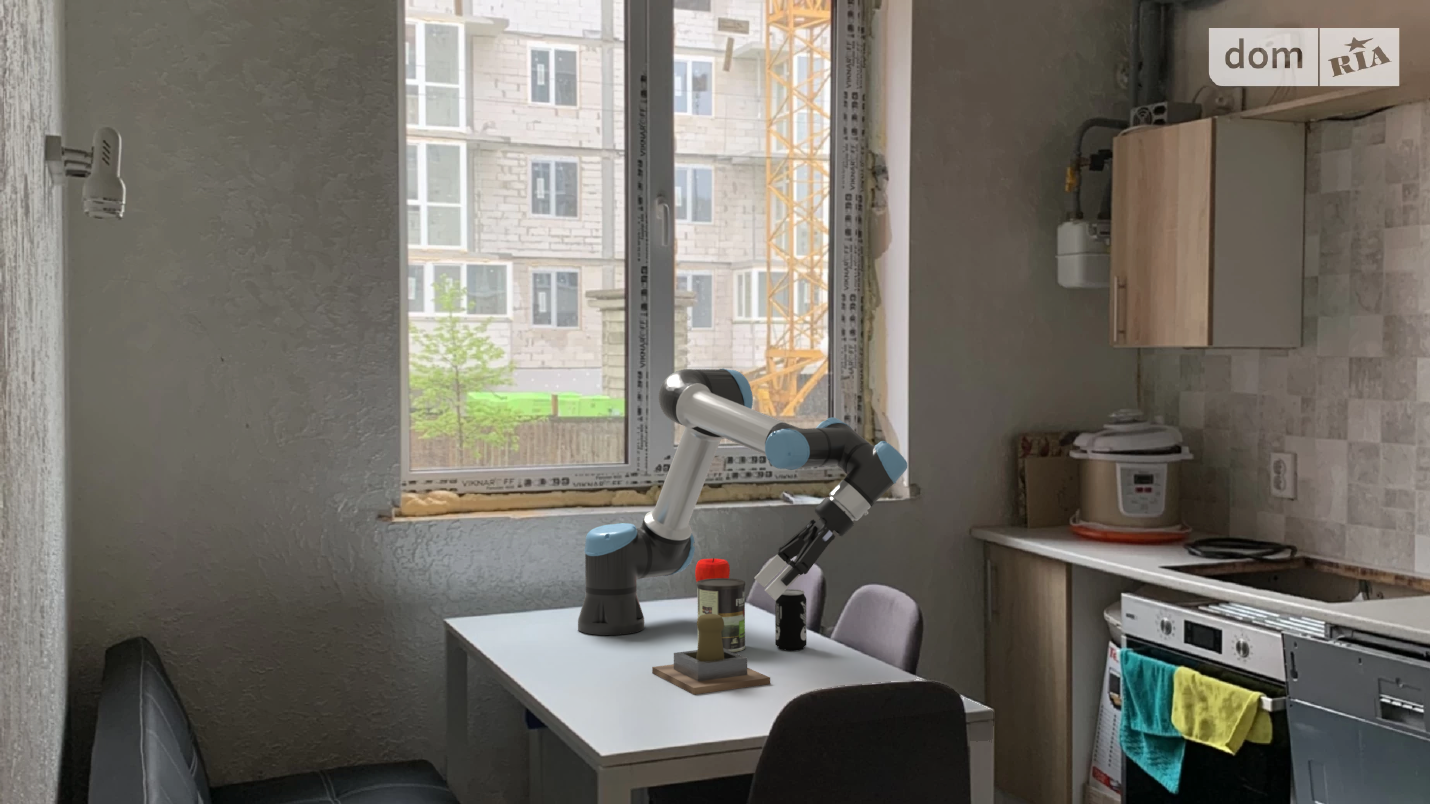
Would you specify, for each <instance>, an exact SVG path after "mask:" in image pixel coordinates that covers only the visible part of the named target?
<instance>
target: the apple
mask: <svg viewBox="0 0 1430 804" xmlns="http://www.w3.org/2000/svg"><path fill="white" fill-rule="evenodd" d="M694 571H695V573H694V576H695V582H696V583H697V582H698V581H700V580H704V579H713V578H729V579H730V573H731V570H730V564H729V562H728V560H727V559H724V558H723V559H721V558H714V557H713V558H703V559H702V558H701V559H699V560H698V561H697V563H696V565H695V570H694Z"/></svg>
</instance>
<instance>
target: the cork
mask: <svg viewBox="0 0 1430 804" xmlns="http://www.w3.org/2000/svg"><path fill="white" fill-rule="evenodd" d="M696 628H697V631H698V630H699V632H700V634H699V642H698V641H697V647H698V648H697V649H696V650H697V657H696V660H699V661H701V662H704V661H712V660H720V659H725V658H724V650H723V643H722V635H721V631H722V630H723V628H724V620H723V618H722V617H721V616H720V615H717V614H704V615H701V616H699V618H698V617H697V621H696Z"/></svg>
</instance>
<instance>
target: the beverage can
mask: <svg viewBox="0 0 1430 804" xmlns="http://www.w3.org/2000/svg"><path fill="white" fill-rule="evenodd" d="M774 605H775V606H774V608H775V609H774V611H775V612H774V615H775V616H774V624H775V625H774V626H775V628H774V629H775V630H774V631H775V634H774V635H775V637H774V638H775V639H774V640H775V642H774V643H775V646H776V647H777V649H779V650H780V651H781V650H782V651H788V652H789V651H790V652H796V651H801V650H804V649H805V647H806V646H807V645H808V644H807V640H808V639H807V597H806V595H805V591H804V590H801V589H795V588H790V589H789V588H787V589H786V590H785V591H784V592H783V593H782V594H781V596H780V597H779V598H778V599H777V600H776V601H775V600H774Z"/></svg>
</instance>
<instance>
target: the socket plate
mask: <svg viewBox="0 0 1430 804" xmlns="http://www.w3.org/2000/svg"><path fill="white" fill-rule="evenodd" d="M697 650H698V649H695V650H686V651H679V652H673V664H664V665H658V666H656V665H655V666H652V668H651V672H652V674H653V675H654V676H655V675H656V676H657V677H659V678H661V679H663V680H665V681H667V682H669V683H670V684H673V685H674V686H676V687H679V688H681V689H682V690H685V691H687V692H688V693H690V694H692V695H700V694H707V693H714V692H721V691H729V690H736V689H742V688H749V687H750V688H751V687H758V686H764V685H765V686H766V685H771V677H770V676H767V675H765V674H763V673H761V672H758V671H757V670H754V669H751V668H750V667H748V657H746V656H744V655H741V654H738V652H732V651H729V650H727V649H725V648H723V650H724V658H725V659H720V660H712V661H704V662H701V661H699V660H696V657H697Z"/></svg>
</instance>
